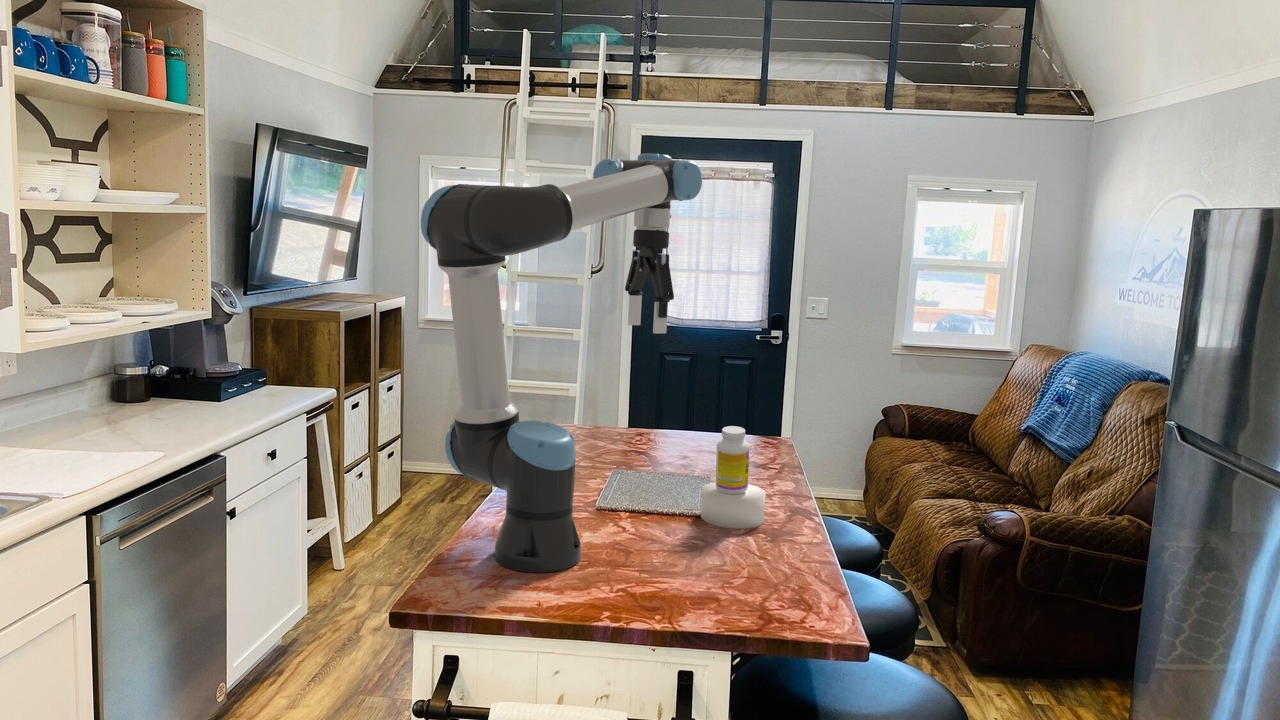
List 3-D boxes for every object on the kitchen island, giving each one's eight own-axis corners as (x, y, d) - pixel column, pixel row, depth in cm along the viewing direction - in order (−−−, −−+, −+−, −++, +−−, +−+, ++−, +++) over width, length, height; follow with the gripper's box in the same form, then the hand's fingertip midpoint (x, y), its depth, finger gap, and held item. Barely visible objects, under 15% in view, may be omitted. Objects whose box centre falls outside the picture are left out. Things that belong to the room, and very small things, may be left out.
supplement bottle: (749, 495, 185) (752, 435, 182) (717, 495, 185) (719, 435, 182) (745, 482, 192) (747, 424, 188) (713, 482, 192) (715, 424, 188)
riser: (728, 533, 180) (730, 503, 180) (687, 514, 191) (689, 486, 190) (776, 523, 188) (779, 495, 187) (735, 505, 198) (737, 478, 197)
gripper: (694, 231, 183) (687, 336, 187) (644, 228, 206) (639, 321, 209) (659, 230, 180) (654, 337, 184) (613, 226, 203) (609, 321, 206)
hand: (646, 329), depth 197 cm, fingers open, 13 cm apart
